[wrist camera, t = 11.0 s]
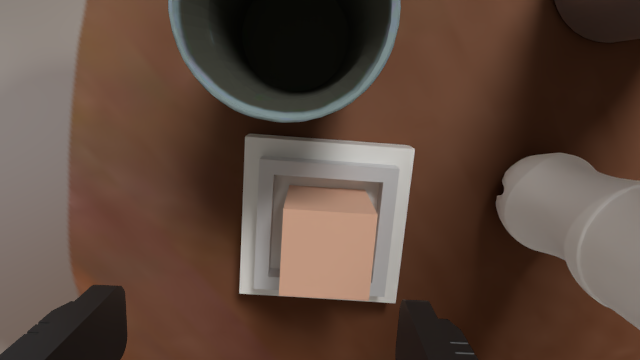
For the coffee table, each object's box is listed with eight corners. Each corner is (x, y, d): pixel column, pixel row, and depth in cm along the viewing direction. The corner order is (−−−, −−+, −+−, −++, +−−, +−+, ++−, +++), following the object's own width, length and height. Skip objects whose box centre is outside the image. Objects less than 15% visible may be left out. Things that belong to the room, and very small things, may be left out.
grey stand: (408, 145, 32) (420, 152, 28) (390, 290, 34) (399, 313, 31) (249, 133, 31) (241, 139, 28) (243, 281, 34) (235, 303, 30)
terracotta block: (365, 189, 30) (377, 214, 24) (358, 260, 31) (368, 300, 26) (289, 185, 30) (283, 208, 24) (285, 256, 31) (278, 295, 25)
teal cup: (393, 58, 30) (443, 40, 18) (278, 137, 31) (257, 166, 20) (313, -71, 28) (313, -182, 17) (195, 18, 29) (116, -28, 18)
